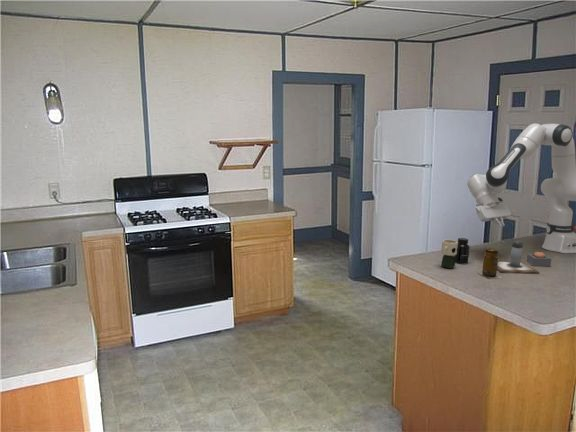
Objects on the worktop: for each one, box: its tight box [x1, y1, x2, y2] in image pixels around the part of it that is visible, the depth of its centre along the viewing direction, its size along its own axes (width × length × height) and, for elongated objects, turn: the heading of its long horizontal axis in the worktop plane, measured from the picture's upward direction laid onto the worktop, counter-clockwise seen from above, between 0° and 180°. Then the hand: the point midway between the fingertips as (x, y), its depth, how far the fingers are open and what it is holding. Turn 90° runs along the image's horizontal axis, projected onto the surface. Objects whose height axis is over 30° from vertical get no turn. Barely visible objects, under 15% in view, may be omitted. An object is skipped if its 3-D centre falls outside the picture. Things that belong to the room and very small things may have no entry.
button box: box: [525, 253, 552, 268], centre depth 237 cm, size 8×8×4 cm
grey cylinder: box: [509, 239, 524, 267], centre depth 229 cm, size 5×5×12 cm
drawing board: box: [497, 260, 540, 275], centre depth 230 cm, size 18×16×1 cm
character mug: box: [440, 238, 458, 269], centre depth 229 cm, size 11×7×13 cm, turn 139°
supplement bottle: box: [454, 237, 471, 265], centre depth 238 cm, size 7×7×12 cm
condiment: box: [478, 248, 504, 279], centre depth 218 cm, size 7×8×12 cm
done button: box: [533, 251, 545, 258], centre depth 237 cm, size 4×4×3 cm
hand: (501, 226), depth 237 cm, fingers closed
